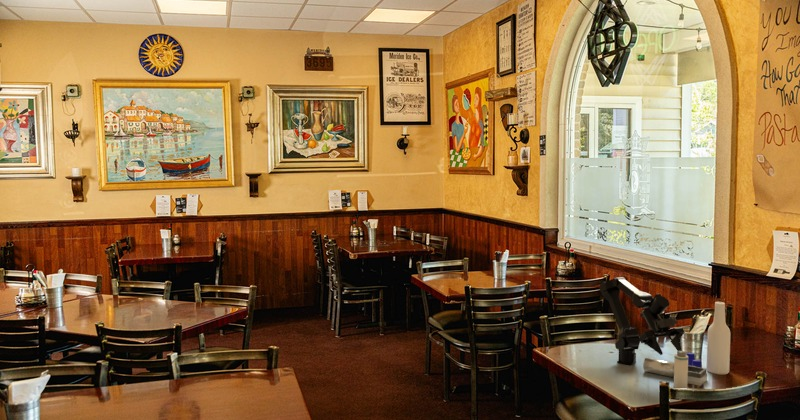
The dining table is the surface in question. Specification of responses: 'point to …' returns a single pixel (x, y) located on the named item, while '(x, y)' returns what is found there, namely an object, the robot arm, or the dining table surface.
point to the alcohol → (718, 342)
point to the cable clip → (693, 360)
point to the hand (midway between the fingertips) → (671, 353)
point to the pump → (680, 370)
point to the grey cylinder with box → (667, 369)
